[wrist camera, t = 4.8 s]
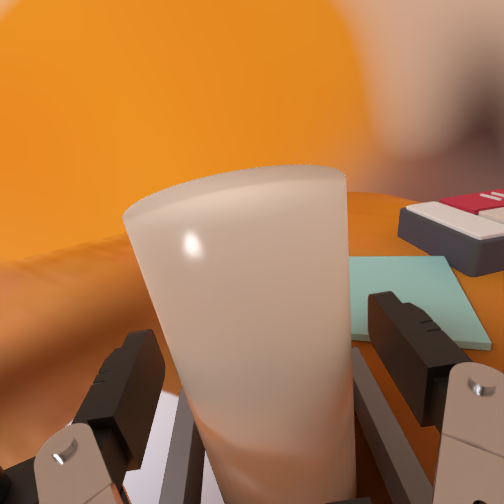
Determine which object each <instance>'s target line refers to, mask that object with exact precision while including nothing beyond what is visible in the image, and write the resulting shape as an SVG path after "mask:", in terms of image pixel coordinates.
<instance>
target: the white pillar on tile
mask: <svg viewBox="0 0 504 504" xmlns="http://www.w3.org/2000/svg"><path fill="white" fill-rule="evenodd" d="M123 222H124V225H125V228H126V230H127V234H128V236H129V239H130V242H131V245H132V247H133V250H134V253H135V256H136V259H137V261H138V264H139V267H140V270H141V272H142V275H143V278H144V281H145V284H146V286H147V289H148V292H149V295H150V297H151V300H152V303H153V306H154V309H155V311H156V314H157V317H158V320H159V322H160V325H161V328H162V331H163V334H164V336H165V339H166V342H167V345H168V347H169V350H170V353H171V356H172V359H173V361H174V364H175V367H176V370H177V373H178V375H179V378H180V381H181V384H182V386H183V389H184V392H185V395H186V398H187V400H188V403H189V406H190V409H191V411H192V414H193V417H194V420H195V423H196V425H197V428H198V431H199V434H200V436H201V439H202V442H203V445H204V448H205V450H206V453H207V456H208V458H209V461H210V464H211V467H212V470H213V472H214V475H215V478H216V481H217V484H218V486H219V489H220V492H221V495H222V497H223V500H224V503H225V504H326V503H330V502H337V501H344V500H350V499H357V486H356V457H355V428H354V398H353V369H352V340H351V311H350V281H349V252H348V223H347V193H346V176H345V174H344V173H342V172H341V171H339V170H337V169H334V168H331V167H326V166H318V165H278V166H266V167H258V168H250V169H243V170H237V171H232V172H227V173H221V174H217V175H212V176H208V177H203V178H199V179H195V180H192V181H188V182H185V183H182V184H178V185H175V186H172V187H169V188H167V189H164V190H161V191H159V192H156V193H154V194H152V195H149V196H147V197H145V198H143V199H142V200H139V201H138V202H136V203H134V204H133V205H132V206H130V207H129V208H128V209H127V210H126V211H125V212H124V214H123Z"/></svg>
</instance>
